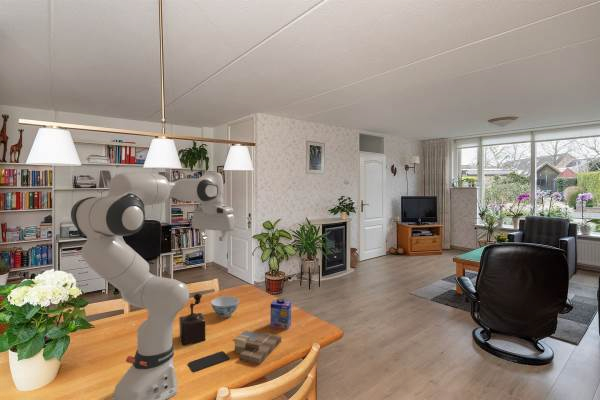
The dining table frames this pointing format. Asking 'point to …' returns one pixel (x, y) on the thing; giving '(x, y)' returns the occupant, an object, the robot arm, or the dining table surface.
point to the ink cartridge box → (280, 314)
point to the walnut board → (261, 348)
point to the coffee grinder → (192, 325)
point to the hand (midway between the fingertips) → (212, 240)
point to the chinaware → (225, 305)
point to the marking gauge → (244, 343)
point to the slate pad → (251, 335)
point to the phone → (208, 361)
